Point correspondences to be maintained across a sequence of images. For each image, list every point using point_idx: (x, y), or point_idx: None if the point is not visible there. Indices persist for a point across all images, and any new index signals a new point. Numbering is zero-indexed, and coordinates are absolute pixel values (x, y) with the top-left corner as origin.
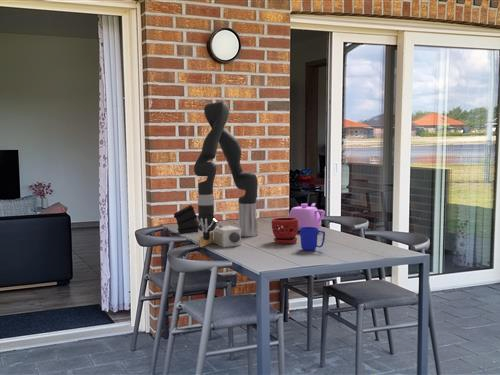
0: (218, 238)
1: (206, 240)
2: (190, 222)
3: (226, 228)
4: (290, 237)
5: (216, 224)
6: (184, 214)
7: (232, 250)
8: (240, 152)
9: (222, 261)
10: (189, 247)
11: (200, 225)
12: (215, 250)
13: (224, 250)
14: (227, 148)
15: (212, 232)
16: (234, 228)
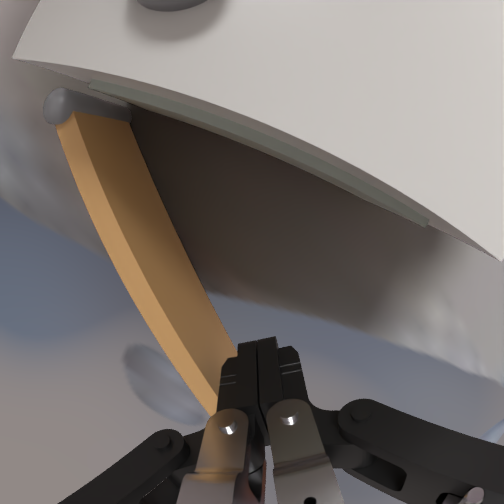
0: (277, 156)
1: (177, 273)
2: None
3: (428, 40)
4: None
5: (493, 462)
6: None
7: (494, 265)
8: None
9: (500, 423)
10: (161, 388)
11: (130, 497)
12: (405, 346)
13: (456, 303)
14: None
15: (72, 103)
16: (498, 3)
